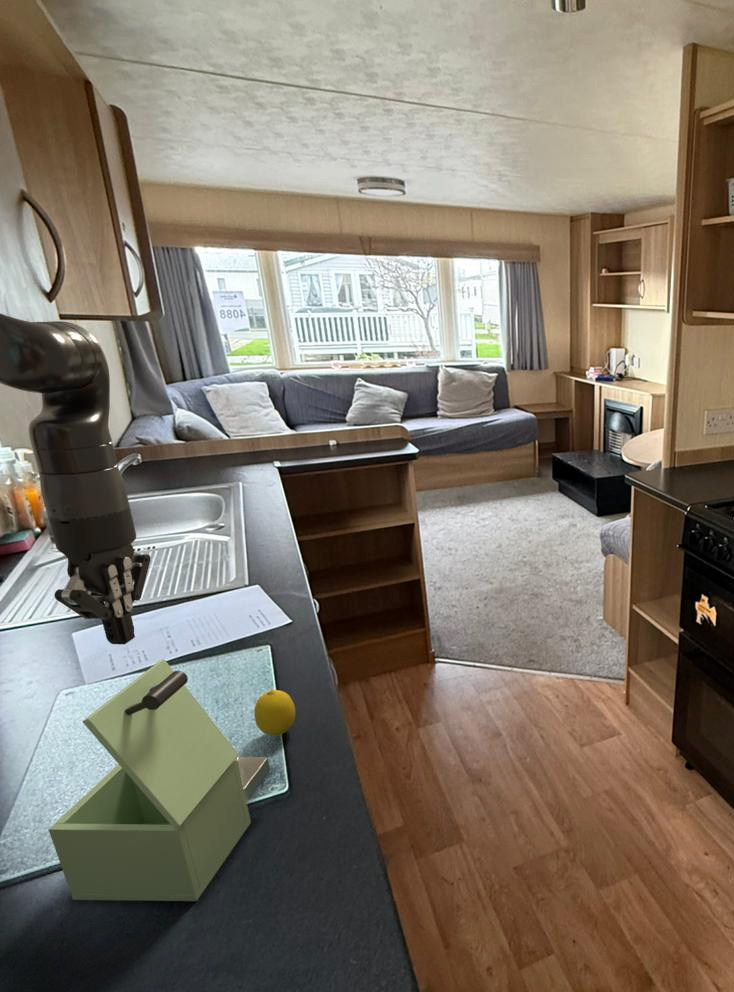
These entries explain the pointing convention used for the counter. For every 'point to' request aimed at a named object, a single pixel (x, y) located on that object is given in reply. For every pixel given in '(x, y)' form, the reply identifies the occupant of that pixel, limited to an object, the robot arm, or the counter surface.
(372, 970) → the counter surface
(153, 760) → the lid
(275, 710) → the lemon
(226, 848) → the green lidded box
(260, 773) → the switch block
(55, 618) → the counter surface
